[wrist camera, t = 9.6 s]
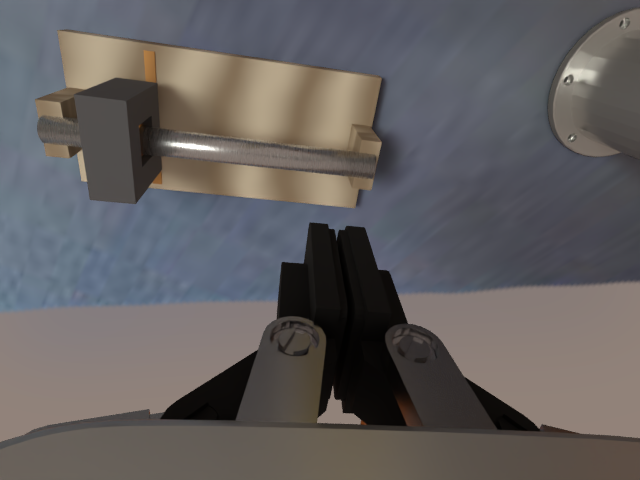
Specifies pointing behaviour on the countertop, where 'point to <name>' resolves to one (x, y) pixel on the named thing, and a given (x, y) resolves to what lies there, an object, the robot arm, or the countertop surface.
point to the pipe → (225, 149)
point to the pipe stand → (230, 112)
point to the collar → (117, 138)
